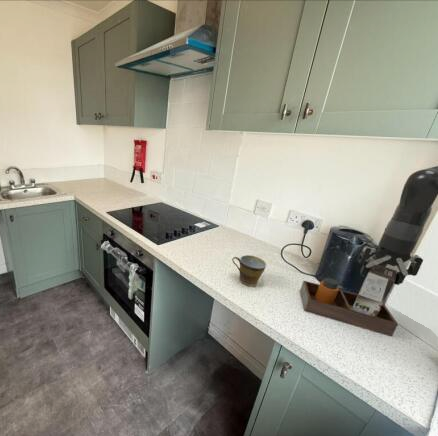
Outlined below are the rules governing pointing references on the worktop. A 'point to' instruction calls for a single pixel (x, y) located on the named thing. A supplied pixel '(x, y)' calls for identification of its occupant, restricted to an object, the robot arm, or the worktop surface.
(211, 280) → the worktop surface
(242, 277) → the ceramic cup
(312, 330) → the worktop surface
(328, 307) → the holder
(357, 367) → the worktop surface
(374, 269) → the coffee box
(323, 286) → the spice bottle
